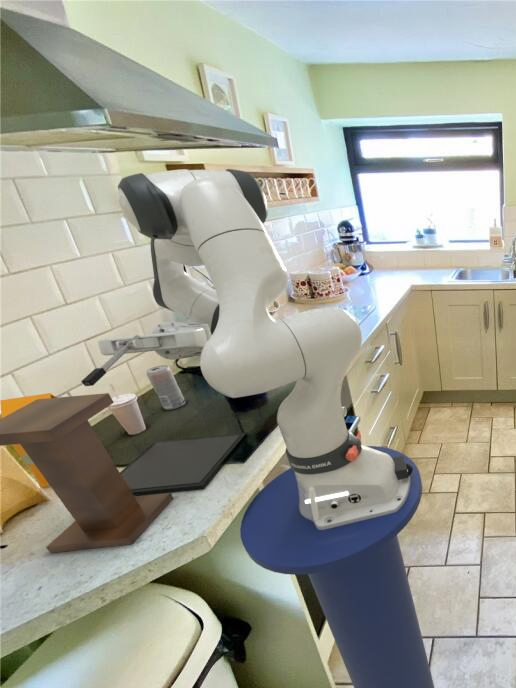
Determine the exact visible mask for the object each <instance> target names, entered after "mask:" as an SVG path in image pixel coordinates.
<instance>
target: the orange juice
mask: <svg viewBox="0 0 516 688" xmlns="http://www.w3.org/2000/svg"><path fill="white" fill-rule="evenodd" d="M47 398H58V397H57V396H55V395H54V394H52V392H49V393H42V394H35V395H28V396H27V395H26V396H22V397H21V396H20V397H14V398H7V399H1V400H0V416H1V417H0V419H2V418H3V417H5V416H7V415H9V414H11V413H13V412H15V411H16V410H18V409H20V408H22V407H24V406H26V405H28V404H30V403H31V402H33V401H35V400H37V399H47ZM11 446H12V447H13V449H14V450H15V452H16V453H17V454H18V455H19V458H20V459H21V460H22V461H23V463H24V465H25V466H27V468H28V469H29V470H30V472H31V473H32V474H33V476H34V477H35V478H36V480H37V482H38V483H39V484H40V485H41V487H42V488H46V487H51V486H50V485H49V483H48V482H47V481H46V479H45V478H44V476H43V475H42V474H41V472H40V471H39V470H38V468H37V467H36V465H35V464H34V463H33V461H32V460H31V458H30V457H29V456H28V454H27V453H26V452H25V450H24V449H23V447H22V446H21V445H20V444H13V445H11Z"/></svg>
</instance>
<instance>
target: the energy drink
mask: <svg viewBox="0 0 516 688" xmlns="http://www.w3.org/2000/svg"><path fill="white" fill-rule="evenodd" d="M146 376H147V379H148V380H149V383H150V384H151V386H152V388H153V390H154V392H155V395H156V396H157V398H158V400H159V402H160V404H161V406H162V408H163V409H164V410H166V411H173V410H177V409H180V408H181V407H184V405H185V404H186V402H187V401H186V399H185V397H184V395H183V393H182V391H181V388H180V385H179V384H178V382H177V380H176V378H175V376H174V374H173V372H172V369H171V368H170V367H169V365H167V364H162V365H157V366H153V367H151V368H148V369H147V370H146Z"/></svg>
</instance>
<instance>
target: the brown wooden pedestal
mask: <svg viewBox="0 0 516 688" xmlns="http://www.w3.org/2000/svg"><path fill="white" fill-rule="evenodd" d="M112 398H113V397H111V395H110V393H109V392H107V393H95V394H81V395H73V396H72V395H71V396H60V397H59V396H58V397H57V398H47V399H37V400H35V401H33V402H31V403H30V404H28V405H26V406H24V407H22V408H20V409H18V410H16V411H15V412H13V413H11V414H9V415H7V416H5V417H3V418H0V446H12V445H13V444H20V445H21V446H22V447H23V449H24V450H25V452H26V453H27V454H28V456H29V457H30V458H31V460H32V461H33V463H34V464H35V465H36V467H37V468H38V470H39V471H40V472H41V474H42V475H43V476H44V478H45V479H46V481H47V482H48V483H49V485H50V486H49V487H50V488H51V489H52V491H53V492H54V493H55V494H56V496H57V497H58V499H59V500H60V501H61V503H62V504H63V506H64V507H65V508H66V510H67V512H68V513H69V514H70V515H71V517H72V518H73V519H74V522H73V523H71V524H70V525H69V526H68V527H67V528H66V529H64V530H63V531H62V532H61V533H60V534H59V535H58V536H57V537H56V538H55V539H53V540H52V541H51V542H50V543H49V544H48V545H47V546H46V547H45V548H46V550H48V552H49V553H51V554H53V553H63V552H73V551H81V550H92V549H101V548H110V547H111V548H112V547H119V546H127V545H128V546H129V545H133V544H134V543H135V542H136V541H137V540H138V538H140V536H141V535H142V534H143V533H144V532H145V531H146V530H147V529H148V528H149V527H150V525H151V524H152V523H153V522H154V520H156V518H158V516H159V515H160V514H161V513H162V512H163V511H164V509H165V508H166V507H167V506H168V505H169V504H170V503H171V502H172V501H173V499H174V497H173V495H172V492H170V493H160V494H150V495H140V496H134V495H133V493H132V492H131V490H130V489H129V487H128V485H127V484H126V482H125V480H124V479H123V477H122V475H121V474H120V472H121V471H119V469H118V467H117V465H116V464H115V462H114V461H113V459H112V458H111V456H110V454H109V453H108V451H107V450H106V447H105V446H104V444H103V443H102V441H101V439H100V438H99V436H98V435H97V433H96V431H95V430H94V428H93V426H92V424H91V423H90V421H89V420H90V419H92V418H93V417H94V416H96V415H98V414H99V413H101V412H102V411H104V410H105V409H107V407H108V406H110V405H111V404H113V403H114V402H113V400H112Z"/></svg>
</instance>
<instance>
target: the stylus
mask: <svg viewBox="0 0 516 688" xmlns="http://www.w3.org/2000/svg"><path fill="white" fill-rule="evenodd" d="M133 336H134V337H133V338H132V339H131V340H138V339H140V336H138V334H136V335H133ZM129 349H130V348H129V344H128V343H127V344H126V345H125V346H123V347H122V348H121V349H120V350H119V351H118V352H117V353H116V354H115V355H112V356H111V357H110V358H109V359H108V360H107V361H106V362H104V364H102V365H101V366H100V367H97V368H96V367H95V368H94V369H93V370H92V371H91V372H90V373H88V375H86V377H84V378H83V379H82V380H80V382H81V383H82V384H83V385H84V387H91V386H94V385H95V384H97V383H98V381H100V379H102V378H103V377H104V376H105V375H106V374H107V371H108V370H109V369H110V368H111V367H113V365H114V364H115V363H117V361H118V360H120V358H122V357H123V356H124V355H126V354H125V353H126V352H127V351H128V350H129Z"/></svg>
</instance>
